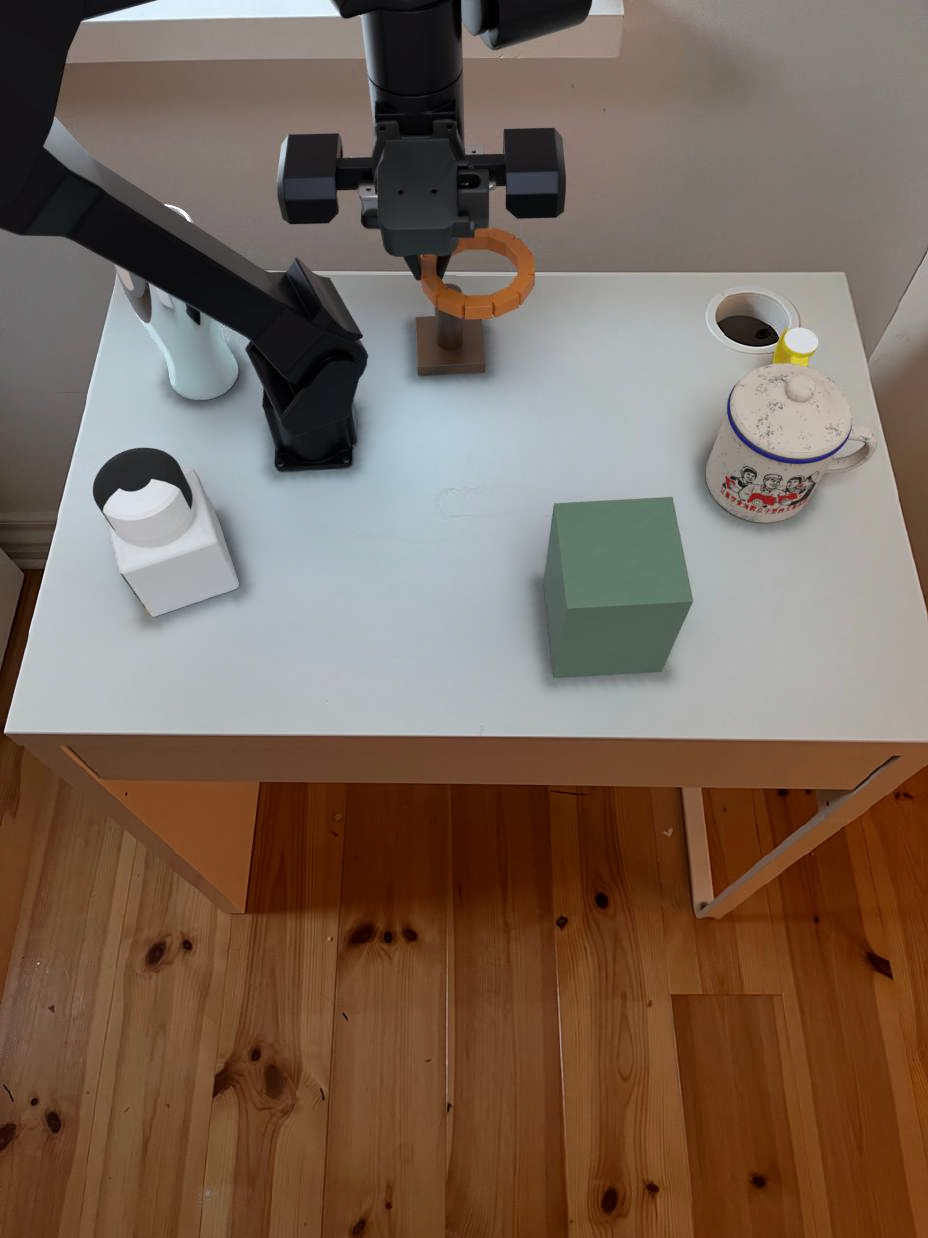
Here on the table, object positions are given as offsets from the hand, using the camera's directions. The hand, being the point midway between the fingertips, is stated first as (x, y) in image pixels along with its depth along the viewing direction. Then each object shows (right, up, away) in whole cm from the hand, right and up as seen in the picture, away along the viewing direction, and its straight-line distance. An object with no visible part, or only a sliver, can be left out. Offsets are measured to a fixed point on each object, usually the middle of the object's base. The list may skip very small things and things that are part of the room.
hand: (429, 276), depth 67 cm
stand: (+1, -1, +14) cm, 14 cm away
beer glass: (-21, -4, +13) cm, 25 cm away
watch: (+30, -6, +12) cm, 33 cm away
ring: (+4, 0, 0) cm, 4 cm away
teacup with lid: (+28, -14, +7) cm, 33 cm away
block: (+13, -26, +1) cm, 29 cm away
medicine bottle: (-19, -22, +4) cm, 29 cm away
